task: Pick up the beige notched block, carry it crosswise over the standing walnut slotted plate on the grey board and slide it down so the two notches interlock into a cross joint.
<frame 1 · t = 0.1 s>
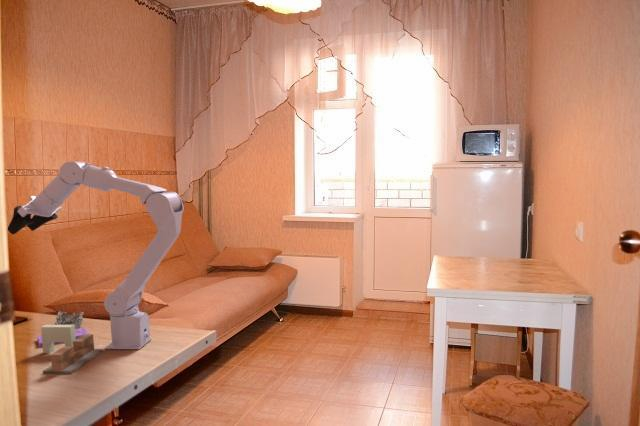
hand: (20, 229, 132), 32 cm above the table, tool tilted 50°, fingers open, 7 cm apart
beige notched block: (59, 351, 128), on the table
sponges: (63, 341, 138), on the table
egg carton: (70, 326, 151), on the table
slotted base: (74, 361, 121), on the table
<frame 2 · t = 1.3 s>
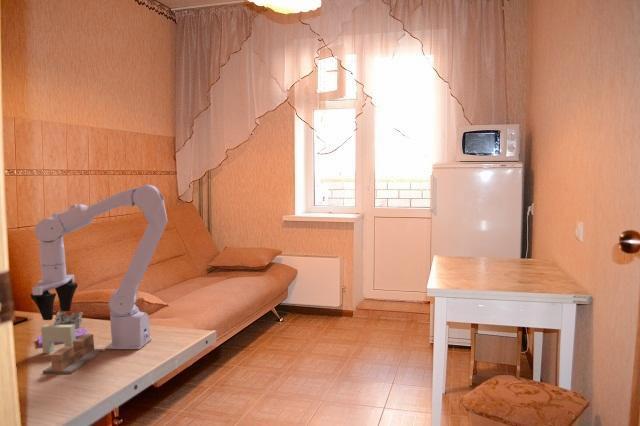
hand: (57, 315, 128), 10 cm above the table, tool pointing down, fingers open, 7 cm apart
nothing on the table moved.
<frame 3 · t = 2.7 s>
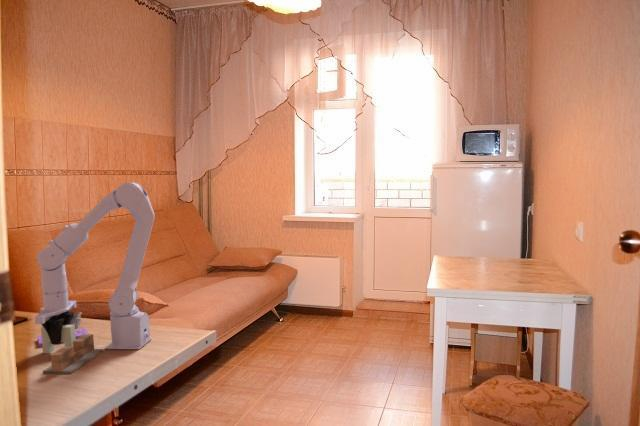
hand: (59, 342, 128), 3 cm above the table, tool pointing down, fingers closed on beige notched block, 2 cm apart
beige notched block: (59, 351, 128), on the table, touching gripper
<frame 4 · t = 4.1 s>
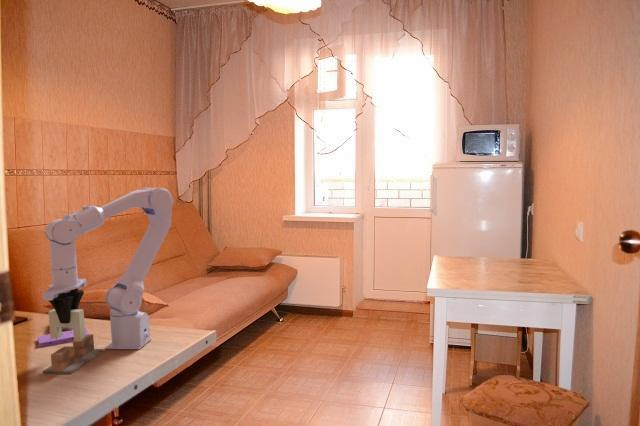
hand: (68, 321, 122), 10 cm above the table, tool pointing down, fingers closed on beige notched block
beige notched block: (68, 337, 122), point 6 cm above the table, touching gripper
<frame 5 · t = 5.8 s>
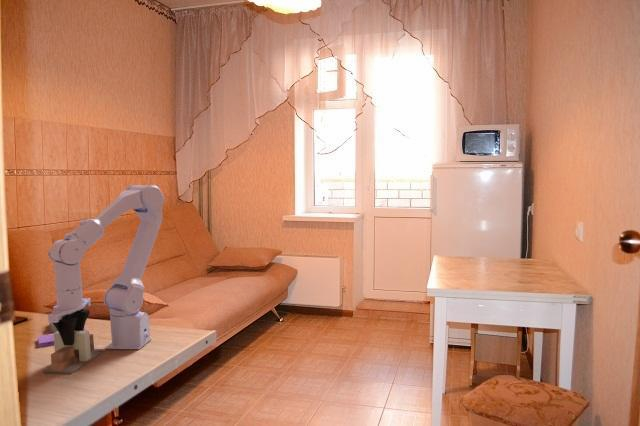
hand: (73, 342, 121), 5 cm above the table, tool pointing down, fingers open, 3 cm apart
beige notched block: (73, 359, 121), point 1 cm above the table, touching slotted base
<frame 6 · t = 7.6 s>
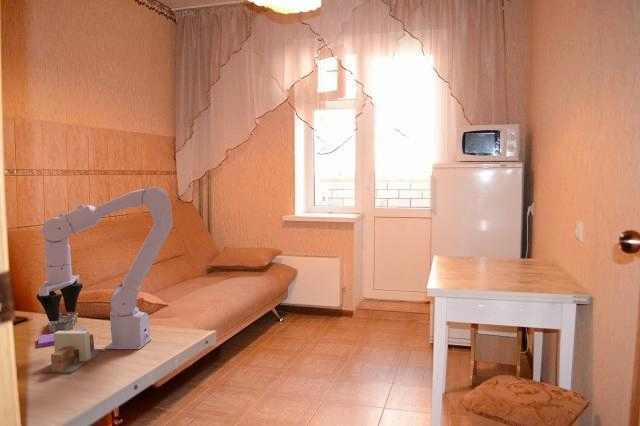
hand: (62, 316, 126), 10 cm above the table, tool pointing down, fingers open, 7 cm apart
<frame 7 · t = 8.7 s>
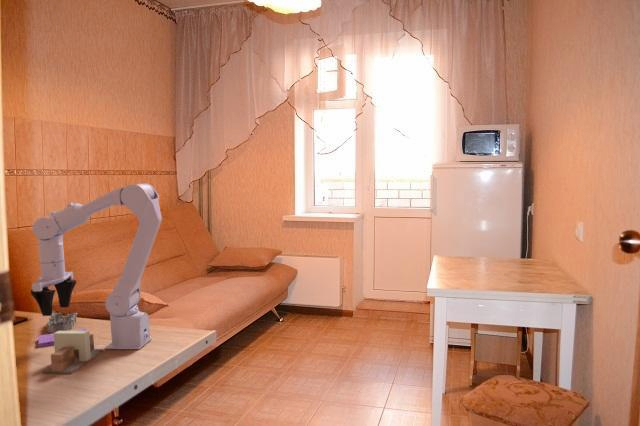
hand: (56, 311, 131), 10 cm above the table, tool pointing down, fingers open, 7 cm apart
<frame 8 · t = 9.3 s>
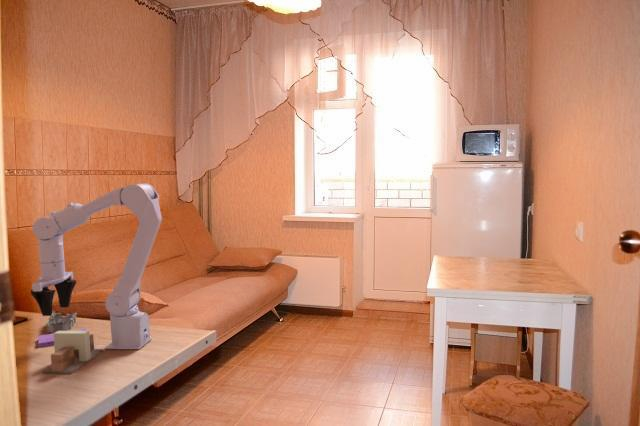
hand: (56, 311, 131), 10 cm above the table, tool pointing down, fingers open, 7 cm apart
at the end: beige notched block 0.2 cm off-centre on the slotted base, point 0.6 cm above the slotted base's base; beige notched block tilted 0°; the gripper is holding nothing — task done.
